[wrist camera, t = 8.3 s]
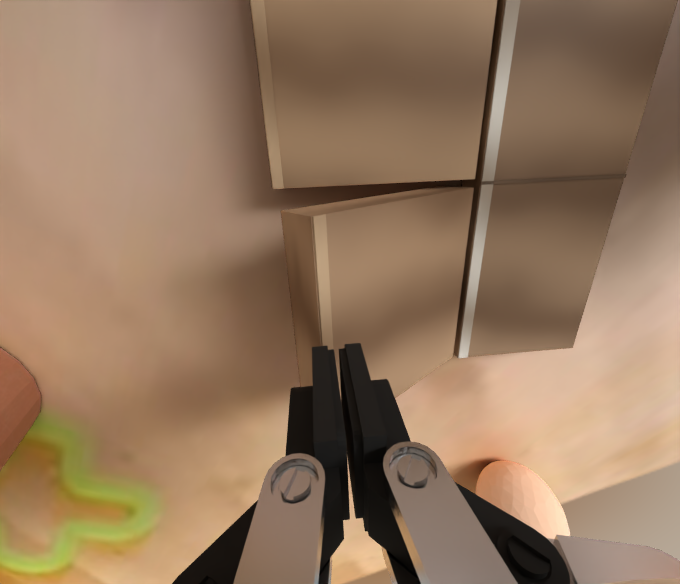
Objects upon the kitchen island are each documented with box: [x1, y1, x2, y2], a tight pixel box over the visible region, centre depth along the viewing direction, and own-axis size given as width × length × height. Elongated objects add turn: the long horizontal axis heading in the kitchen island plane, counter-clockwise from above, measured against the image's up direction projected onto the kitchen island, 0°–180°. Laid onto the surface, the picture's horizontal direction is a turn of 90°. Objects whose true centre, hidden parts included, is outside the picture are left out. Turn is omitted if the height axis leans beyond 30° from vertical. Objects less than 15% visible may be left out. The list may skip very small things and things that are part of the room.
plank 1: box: [250, 0, 497, 189], centre depth 14 cm, size 10×10×2 cm
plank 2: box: [281, 186, 474, 398], centre depth 16 cm, size 10×10×2 cm
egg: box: [476, 460, 570, 539], centre depth 24 cm, size 6×6×8 cm
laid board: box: [453, 0, 678, 358], centre depth 17 cm, size 21×8×2 cm, turn 2°
